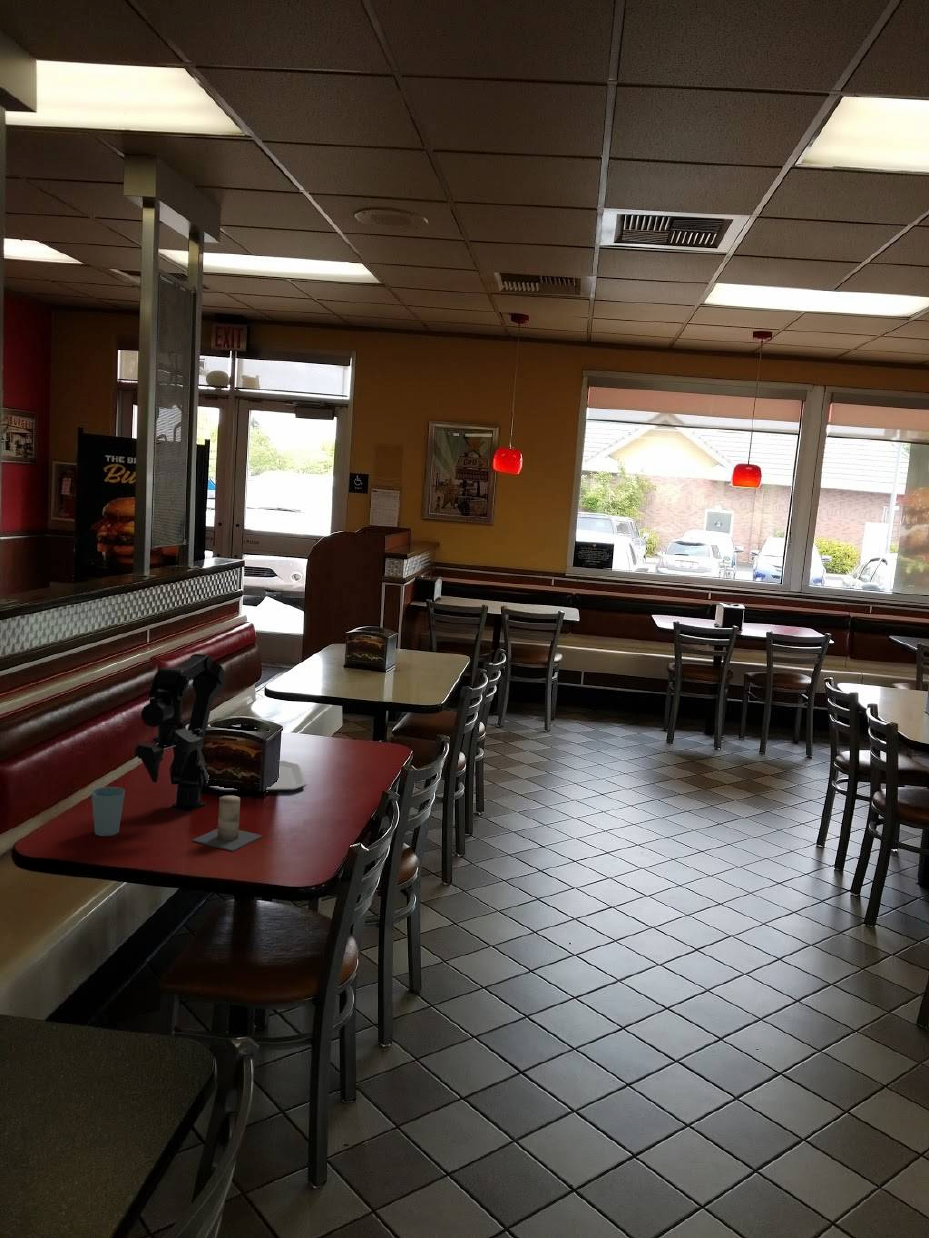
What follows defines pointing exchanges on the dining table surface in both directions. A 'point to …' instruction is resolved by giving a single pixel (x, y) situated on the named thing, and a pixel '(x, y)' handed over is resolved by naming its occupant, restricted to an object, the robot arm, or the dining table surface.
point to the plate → (281, 779)
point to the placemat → (213, 841)
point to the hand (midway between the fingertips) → (167, 777)
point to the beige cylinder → (228, 818)
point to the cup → (107, 810)
